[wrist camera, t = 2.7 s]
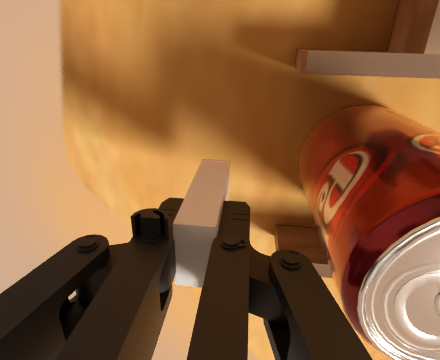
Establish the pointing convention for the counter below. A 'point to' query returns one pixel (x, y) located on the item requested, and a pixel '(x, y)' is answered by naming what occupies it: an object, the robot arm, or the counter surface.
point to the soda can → (380, 224)
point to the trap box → (371, 66)
